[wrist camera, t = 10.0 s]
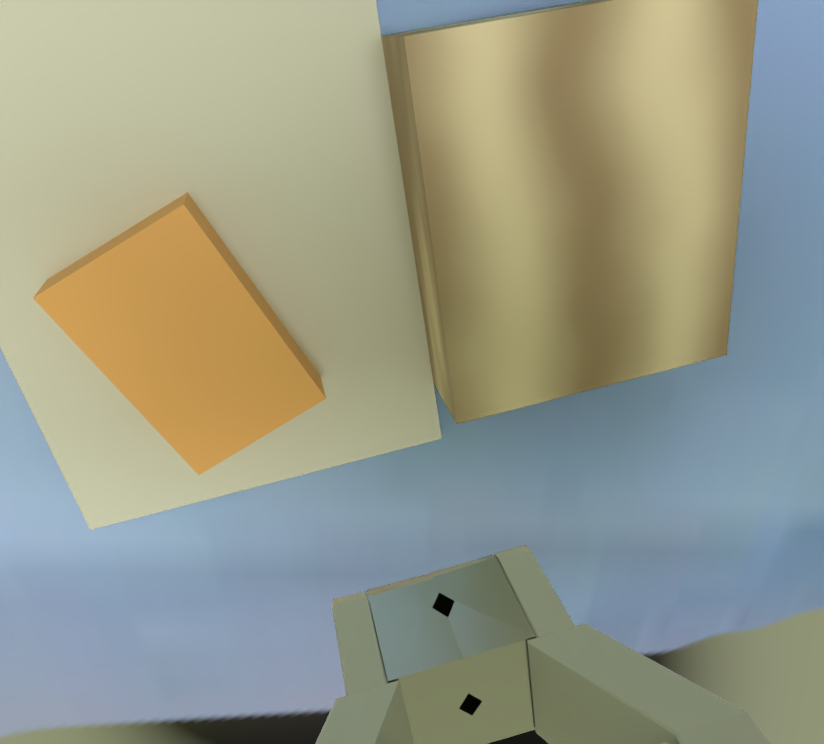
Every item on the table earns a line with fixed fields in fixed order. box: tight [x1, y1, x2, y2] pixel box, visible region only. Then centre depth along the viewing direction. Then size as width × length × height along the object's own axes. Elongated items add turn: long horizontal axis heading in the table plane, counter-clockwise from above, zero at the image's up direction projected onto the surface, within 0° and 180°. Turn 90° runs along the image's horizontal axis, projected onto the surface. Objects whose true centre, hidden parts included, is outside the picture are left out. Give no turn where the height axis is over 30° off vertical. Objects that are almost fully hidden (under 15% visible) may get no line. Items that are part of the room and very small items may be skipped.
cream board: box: [0, 0, 442, 530], centre depth 26 cm, size 16×20×1 cm
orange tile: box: [33, 192, 326, 475], centre depth 25 cm, size 6×9×2 cm, turn 28°
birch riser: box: [381, 0, 758, 424], centre depth 26 cm, size 12×14×4 cm
